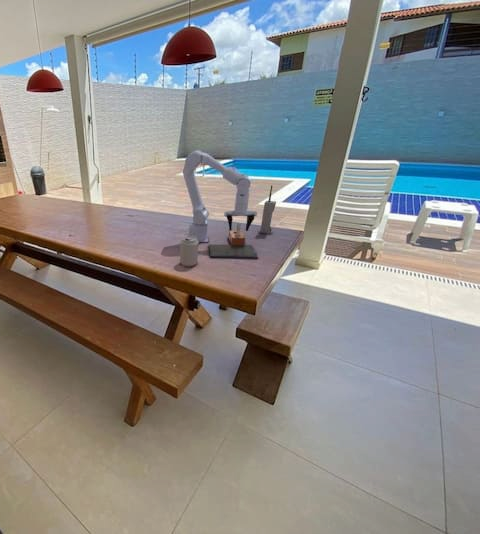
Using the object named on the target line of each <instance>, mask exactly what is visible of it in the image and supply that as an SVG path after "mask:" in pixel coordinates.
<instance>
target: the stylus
mask: <svg viewBox="0 0 480 534" xmlns="http://www.w3.org/2000/svg"><path fill="white" fill-rule="evenodd" d="M241 225H242V223H237V225H236V231H237V232H236V237H239V236H240V231H241Z"/></svg>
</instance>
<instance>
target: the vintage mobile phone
mask: <svg viewBox="0 0 480 534" xmlns="http://www.w3.org/2000/svg"><path fill="white" fill-rule="evenodd" d="M272 191H273V185H272V184H271V185H270V190H269V196H268V200H265V202H264V204H263V205H264V206H263V210H262V217H261V218H262V219H261V224H260V231H259V232H260V234H264V235H265V234H266V235H270V234H271V233H272V228H271V224H272V219H273V218H272V217H273V213H274V211H275V208H276V204H277V201H275V200H271V199H272Z"/></svg>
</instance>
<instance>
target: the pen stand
mask: <svg viewBox="0 0 480 534" xmlns="http://www.w3.org/2000/svg"><path fill="white" fill-rule="evenodd" d="M236 232H237V230H231V231H230V230H228V240H229V244H230V245H246V244H245V243H246V236H245V234H244V232H243V230H240V236H239V237H236Z"/></svg>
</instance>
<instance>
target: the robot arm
mask: <svg viewBox="0 0 480 534" xmlns="http://www.w3.org/2000/svg"><path fill="white" fill-rule="evenodd" d="M199 165H200V166H208V167H210V168H211V169H214V170H215V171H216V172H219V173H220V174H222V178H223V179H224V180H226V181H227V182H229V183H230V184H232V185H233V186H236V193H235V200H234V201H235V202H234V210H230V211H223V212H224V213H223V217H226V220H227V223H228V231H233V230H232V229H233V228H232V227H233V226H232V225H233V221H234V220H233V219H234V218H233V217H246V224H245V231H246V232H248V231H249V229H250V227H251V224H253V222H254V220H255V217H257V216H258V212H257V211H252V210H248V207H249V199H250V188H251V183H252V180H251V178H250V177H249V176H248V175H246V174H245V173H242V172H240V171H238V170H237V168H236V167H235V166H233V167H232V166H228V167H227V166H226V165H224V164H223V163H221V162H220V161H218V160H217V159H215V158H214V157H213V156H211V155H210V154H208V153H207V152H203V151H202V150H200V149H195V150H193V151H192V152H190V153H189V154H188V155H187V157H186V158H185V160H184V165H183V169H182V175H183V178H184V182H185V186H186V189H187V192H188V195H189V199H190V202H191V205H192V214H193V216H192V220H193V222H190V223H189V225H188V234H187V236H193V237H196V238H197V240H198V242H199V243H208V242H209V241H208V240H209V239H208V227H209V225H208V224H209V222H208V220H207V219H208V218H209V215H210V214H209V213H210V212H209V211H208V209H207V208H206V206H205V203H203V199H202V196H201V192H200V188H199V186H198V182H197V179H196V175H195V171H196V170H197V168H198V166H199Z"/></svg>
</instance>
